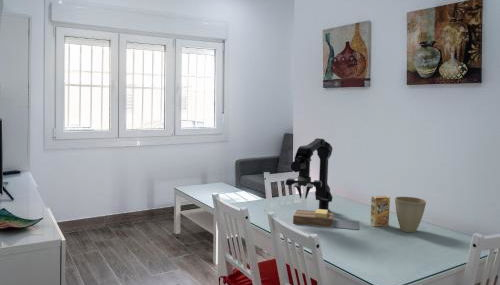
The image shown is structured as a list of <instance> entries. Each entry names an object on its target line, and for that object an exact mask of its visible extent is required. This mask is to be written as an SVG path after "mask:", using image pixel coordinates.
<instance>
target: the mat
mask: <svg viewBox="0 0 500 285" xmlns="http://www.w3.org/2000/svg"><path fill="white" fill-rule="evenodd" d="M331 228H334V229H342V230H352V231H353V230H354V231H359V229H360V221H358V220H350V219H340V218H339V219H338V218H333V223H332V227H331Z"/></svg>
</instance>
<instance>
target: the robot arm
mask: <svg viewBox="0 0 500 285" xmlns="http://www.w3.org/2000/svg"><path fill="white" fill-rule="evenodd" d="M315 151H316V154H317V157H318V158H319V172H318V173H319V177H318V178H319V179H318V180H316V179H314V181H312V177H311V176H310V175H311V161H312V156H313V155H314V152H315ZM332 153H333V147H332V145H331V144H330V143H329V142H328V141H326V140H325V139H324V138H315V139H314V140H313V141H311V142H310V143H309V144H307V145H300V146H299V147H298V148H297V151H296V152H295V156H294V161H292V162H291V164H290V169H291V171H292V172H294V173H298V176H297V180H296V179H295V178H287V179H286V181H285V186H294V188H296V190H297V192H298V195H299V198H300V199H302V187H306V191H305V196H304V198H305V200H306V199H307V197H308V195H309V192H310V190H311V189H313V187H314V188H315V192H314V196H315V201H318V208H317V209H324V210H328V212H330V208H329V204H330V203H332V202H333V195H332V193H331V188H330V186H329V184H328V176H329V175H328V174H329V172H328V171H329V159H330V158H331V156H332Z"/></svg>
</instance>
